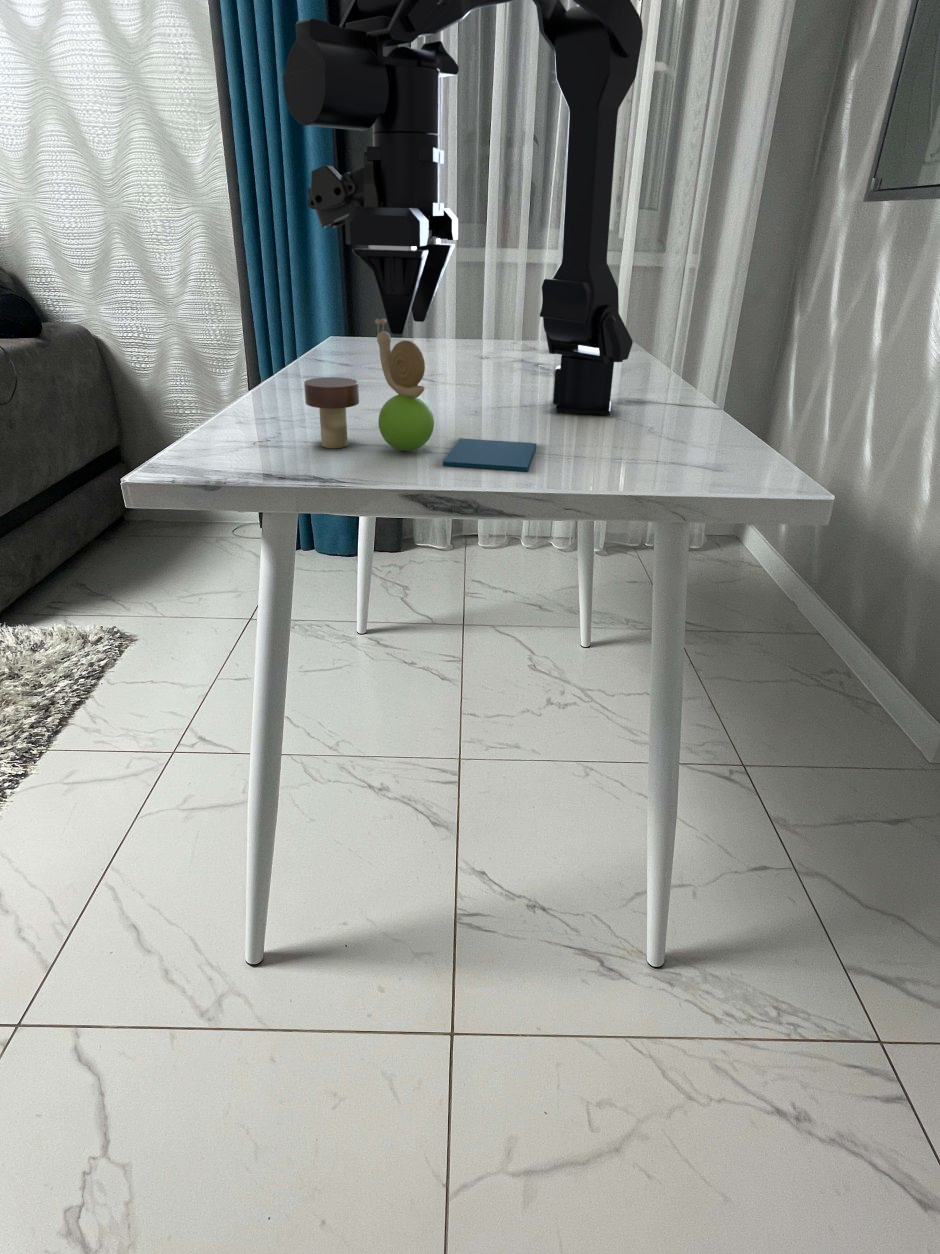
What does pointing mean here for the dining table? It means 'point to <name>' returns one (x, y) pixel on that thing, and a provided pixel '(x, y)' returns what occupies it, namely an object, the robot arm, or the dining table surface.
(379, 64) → the robot arm
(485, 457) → the flat rectangular board
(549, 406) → the dining table surface
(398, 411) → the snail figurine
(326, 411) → the mushroom
